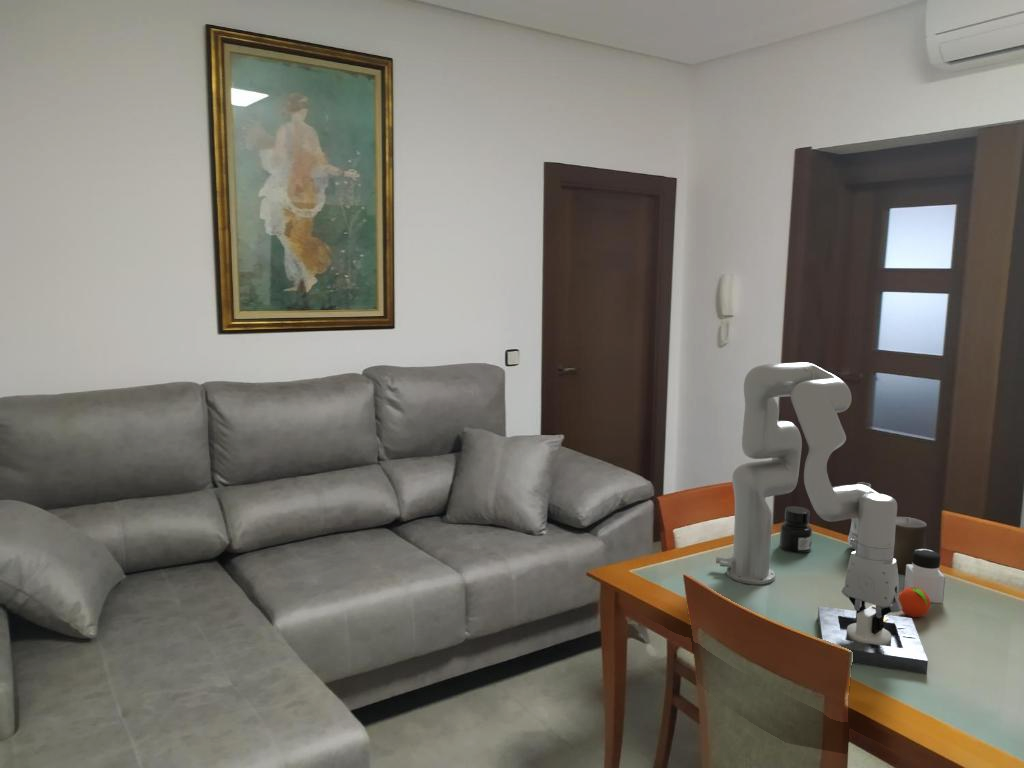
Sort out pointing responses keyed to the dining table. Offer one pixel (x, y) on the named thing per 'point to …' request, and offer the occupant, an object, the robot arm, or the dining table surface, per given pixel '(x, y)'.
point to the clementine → (914, 602)
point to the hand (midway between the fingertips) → (869, 628)
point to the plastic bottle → (854, 525)
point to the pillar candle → (908, 540)
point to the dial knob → (867, 629)
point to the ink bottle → (796, 530)
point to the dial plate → (897, 656)
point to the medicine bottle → (926, 574)
